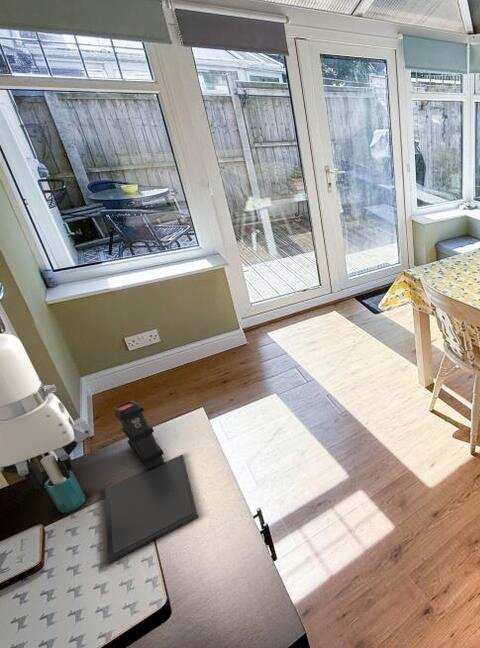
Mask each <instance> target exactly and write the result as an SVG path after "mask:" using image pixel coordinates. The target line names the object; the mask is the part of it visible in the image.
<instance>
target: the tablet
mask: <svg viewBox="0 0 480 648" xmlns="http://www.w3.org/2000/svg"><path fill="white" fill-rule="evenodd" d="M104 495H105V519H106V521H105V522H106V540H107V541H106V542H107V561H108V563H109V564H112V563H114V562H116V561H117V560H119V559H121V558H124V557H126V556H127V555H129V554H131V553H133V552H135V551H137V550H139V549H142V548H143V547H145V546H147V545H148V544H150V543H152V542H154V541H156V540H158V539H160V538H161V537H164V536H166V535H167V534H170V533H171V532H174V531H175V530H177V529H179V528H181V527H183V526H185V525H187V524H189V523H191V522H193V521H194V520H196V519H198V518H199V513H198V509H197V505H196V500H195V497H194V493H193V489H192V485H191V481H190V477H189V473H188V469H187V465H186V461H185V458H184V454H180V455H178V456H175V457H174V458H171V459H168V460H166V461H164V463H162V464H159V465H157V466H155V467H153V468H150V469H148V470H147V469H145V470H144V471H143V470H142V471H141V472H139V473H137V474H134V475H132V476H130V477H127V478H125V479H122V480H120V481H118V482H116V483H113V484H112V485H109V486H106V487H105V488H104Z"/></svg>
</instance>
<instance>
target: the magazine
mask: <svg viewBox="0 0 480 648" xmlns="http://www.w3.org/2000/svg"><path fill="white" fill-rule="evenodd" d="M113 409H114V411H115V412H114V413H113V415H114V417H116V418H117V419H118V420H119V422H120V423H121V426H122V428H121V431H122V432H123V433H124V435H125V436H126V437H127V439H128V440H127V441H126V442H127V444H128V445H129V447H130V448H131V450H132V452H133V453H134V454H135V456H136V458H137V459H138V460H139V462H140V463H141V465H142V466H143V467H144V468H145V470H148V469H150V468H153V467H155V466H157V465H159V464H162V463H164V462H165V460H164V457H163V455H164V454H165V453H164V451H163V448H161V447H160V445H159V444H158V443H157V441H156V438H155V436H154V434H153V433H154V432H155V430H154V428H153V427H152V426H151V425H150V424H149V423H148V421H147V419H146V417H145V415H144V413H143V412H144V411H145V409H144V407H143V406H140V404H139V402H136V401H133V400H129V401H127V402H125V403H122V404H119V405H117V406H115V407H113Z"/></svg>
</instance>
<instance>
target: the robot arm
mask: <svg viewBox="0 0 480 648" xmlns="http://www.w3.org/2000/svg"><path fill="white" fill-rule="evenodd" d="M30 359H31V358H30V357H29V355H28V353H27V350H26V349H25V347H24V345H23V343H22V341H21V340H20V339H19V337H17V336H15V335H12V334H7V333H0V473H1V472H4V473H9V474H18V476H23V477H24V478H25V481H26V482H27V484H28V485H29V486H32V485H33V486H34V488H35V489H36V490H38V489H41V488H42V487H43V484H44V476H43V473H42V471H41V469H40V468H39V466H38V464H37V463H36V462H31V459H32V458H35V457H38V456H41V455H44V454H46V453H50V452H52V451H53V452H54V454H55V456H56V457H57V458H56V460H57V465H58V467H59V469H60V471H61V473H62V474H63V476H64V478H65V477H66V478H67V477H69V476H70V471H71V470H73V469H75V466H74V461H73V460H72V457H71V456H70V455H71V454H72V453H73V451H74V450H75V449H76V448H77V446H78V445H79V444H81V443H82V442H84V441H85V440H86V439H88V438H89V437H90V433H89V430H87V429H85V428H82V427H81V426H78V425H76V424H75V422H74V419H73V418H72V417H71V415H70V413H69V412H68V410H67V409H66V407H65V405H64V404H63V403H62V401H61V400H60V399H59V397H58V396H56V395H55V394H54V393H55V392H57V391H58V389H57V385H56V384H55V383H54V384H51V385H49V384H48V385H46V384H44V383H43V381H41V379H40V377H39V376H38V373H37V372H36V370H35V367H34V366H33V363H32V362H31V360H30Z"/></svg>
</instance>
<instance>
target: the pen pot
mask: <svg viewBox="0 0 480 648" xmlns="http://www.w3.org/2000/svg"><path fill="white" fill-rule="evenodd" d="M44 488H45V490H46V492H47V494H48V496H49V497H50V499H51V500H52V503H53V504H54V505H55V507H56V509H57V510H58V511H59V513H62V514H66V513H70V512H73V511H75V510H77V509H78V508H79V507H81V506H82V505H83V504H84V503H85V502H86V499H87V497H86V494H85V493H84V490H83V489H82V487H81V485H80V483H79V481H78V479H77V478H76V476H75V474H74V472H73V471H71V470H70V476H69V477H67V480H66V481H64V482H63V483H61V484H59V485H56V486H54V485H53V483H52V481H51V480H50V478H49V477H48V479H47V480H46V482H44Z"/></svg>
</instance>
